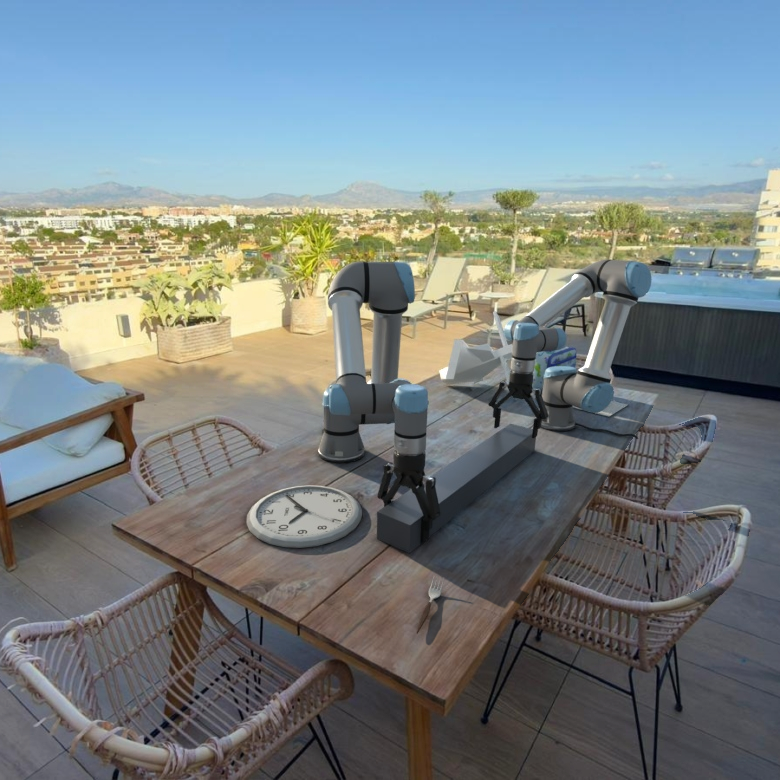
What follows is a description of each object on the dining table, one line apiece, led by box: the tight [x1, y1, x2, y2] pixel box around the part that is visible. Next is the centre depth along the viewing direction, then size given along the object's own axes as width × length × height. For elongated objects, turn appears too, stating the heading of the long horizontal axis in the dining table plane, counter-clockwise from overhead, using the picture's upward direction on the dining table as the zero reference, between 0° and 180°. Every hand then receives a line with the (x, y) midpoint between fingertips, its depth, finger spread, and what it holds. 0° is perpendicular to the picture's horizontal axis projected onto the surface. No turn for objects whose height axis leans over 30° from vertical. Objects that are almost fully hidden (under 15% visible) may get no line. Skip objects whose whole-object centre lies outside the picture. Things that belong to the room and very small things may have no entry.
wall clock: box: [246, 484, 363, 549], centre depth 137 cm, size 30×2×30 cm
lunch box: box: [532, 345, 577, 390], centre depth 245 cm, size 26×11×21 cm, turn 134°
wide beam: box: [376, 423, 537, 554], centre depth 153 cm, size 76×10×8 cm, turn 143°
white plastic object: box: [438, 310, 517, 400], centre depth 245 cm, size 37×45×31 cm
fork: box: [416, 574, 445, 635], centre depth 104 cm, size 3×16×2 cm, turn 160°
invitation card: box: [573, 400, 629, 418], centre depth 226 cm, size 21×1×15 cm
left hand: (407, 532), depth 130 cm, fingers closed on wide beam, 10 cm apart
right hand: (515, 432), depth 176 cm, fingers open, 13 cm apart
